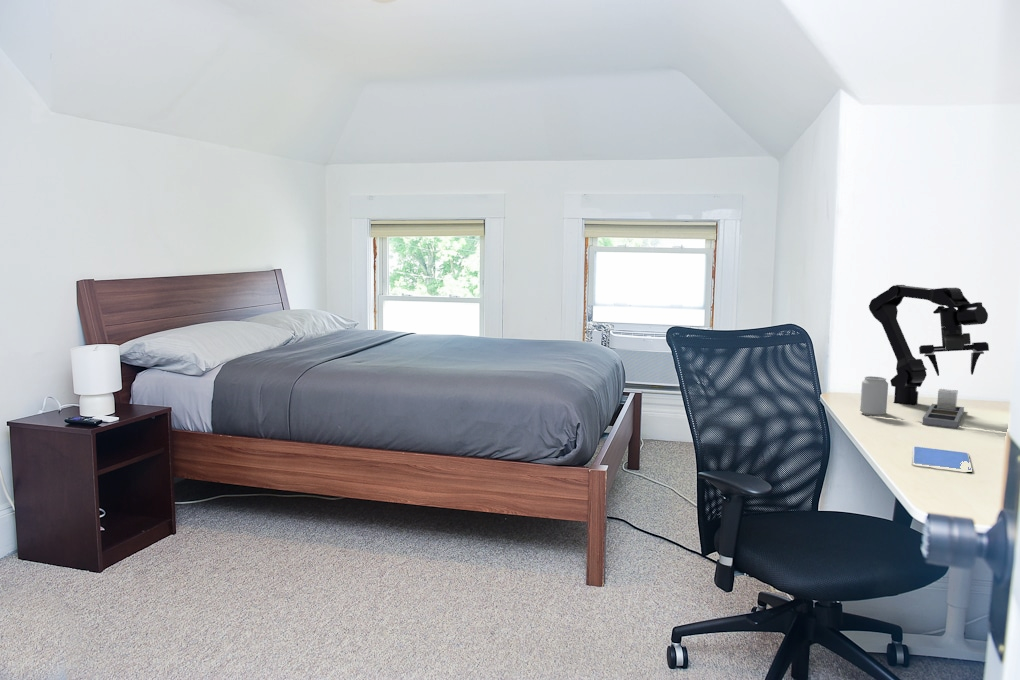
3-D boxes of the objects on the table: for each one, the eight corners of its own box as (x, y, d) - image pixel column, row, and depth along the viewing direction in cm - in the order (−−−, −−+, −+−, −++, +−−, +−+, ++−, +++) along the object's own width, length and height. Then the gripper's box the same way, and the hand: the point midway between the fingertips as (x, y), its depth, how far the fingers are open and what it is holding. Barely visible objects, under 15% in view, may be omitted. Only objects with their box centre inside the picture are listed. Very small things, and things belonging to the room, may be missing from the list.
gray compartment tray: (922, 424, 218) (922, 417, 218) (931, 409, 240) (932, 403, 240) (957, 428, 213) (957, 421, 213) (963, 413, 235) (964, 407, 235)
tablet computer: (912, 450, 190) (912, 445, 190) (968, 457, 184) (969, 451, 184) (911, 468, 174) (911, 462, 174) (973, 476, 168) (973, 470, 167)
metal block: (936, 412, 233) (938, 390, 232) (938, 409, 237) (939, 388, 236) (954, 414, 230) (956, 392, 229) (956, 411, 234) (957, 390, 233)
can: (880, 412, 235) (882, 375, 234) (890, 417, 228) (892, 379, 227) (856, 411, 236) (858, 375, 235) (865, 416, 229) (867, 379, 227)
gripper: (919, 328, 229) (922, 377, 229) (989, 323, 221) (993, 374, 220) (917, 328, 239) (921, 376, 239) (984, 324, 231) (988, 373, 230)
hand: (955, 375), depth 232 cm, fingers open, 9 cm apart
